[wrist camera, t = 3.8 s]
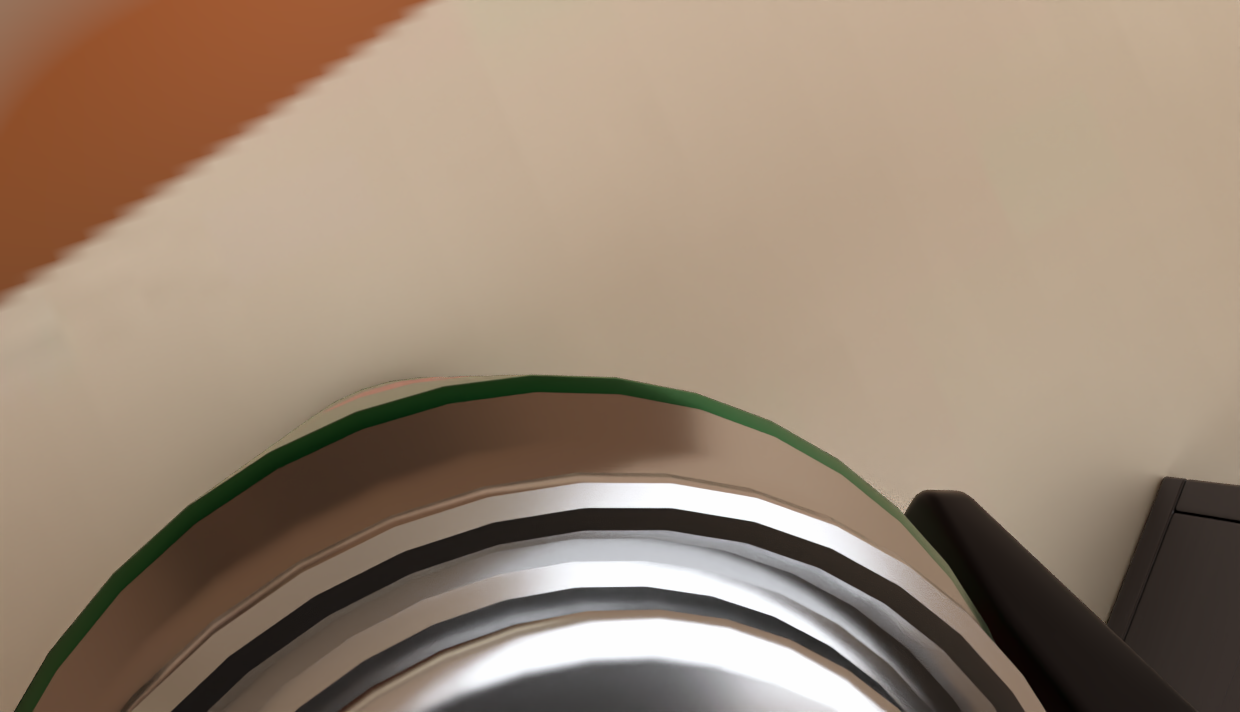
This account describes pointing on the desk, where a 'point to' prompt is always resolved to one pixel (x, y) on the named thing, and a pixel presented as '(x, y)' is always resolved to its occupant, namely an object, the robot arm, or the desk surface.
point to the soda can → (533, 571)
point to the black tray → (1187, 593)
